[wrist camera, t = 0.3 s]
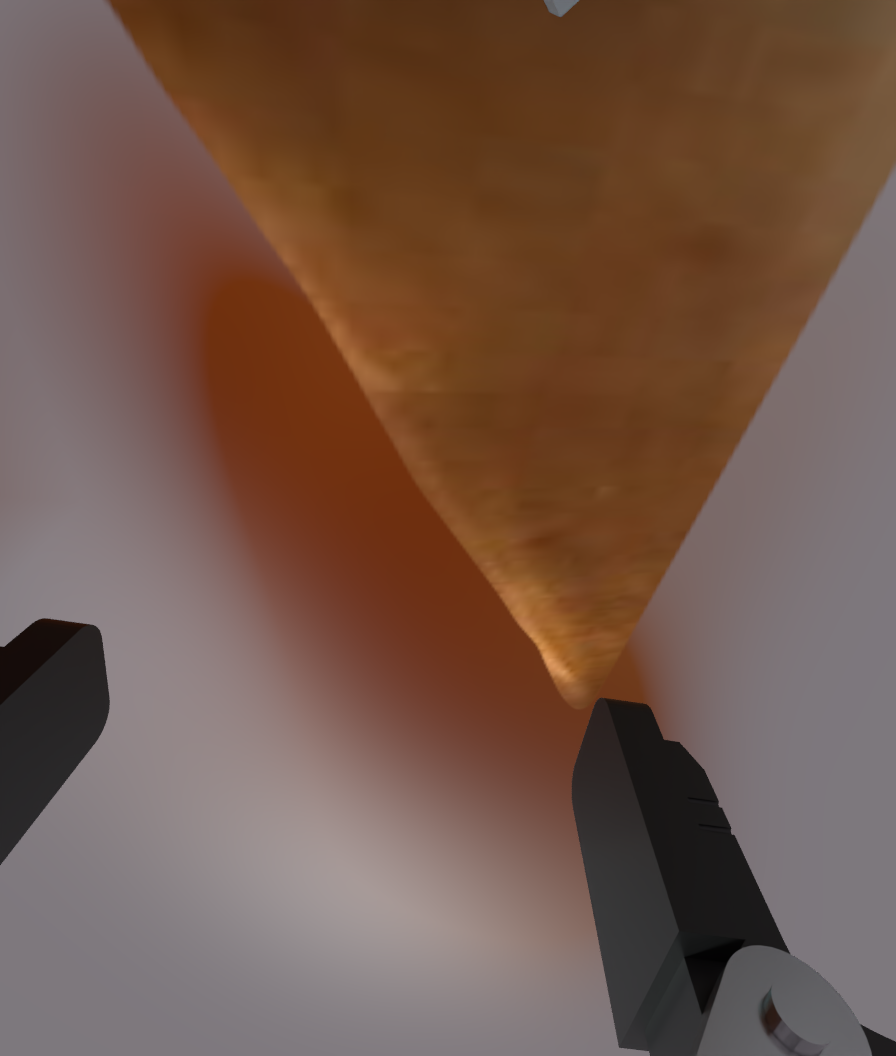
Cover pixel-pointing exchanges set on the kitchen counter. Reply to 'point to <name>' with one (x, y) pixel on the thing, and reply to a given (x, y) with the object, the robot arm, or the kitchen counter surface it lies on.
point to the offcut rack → (559, 6)
